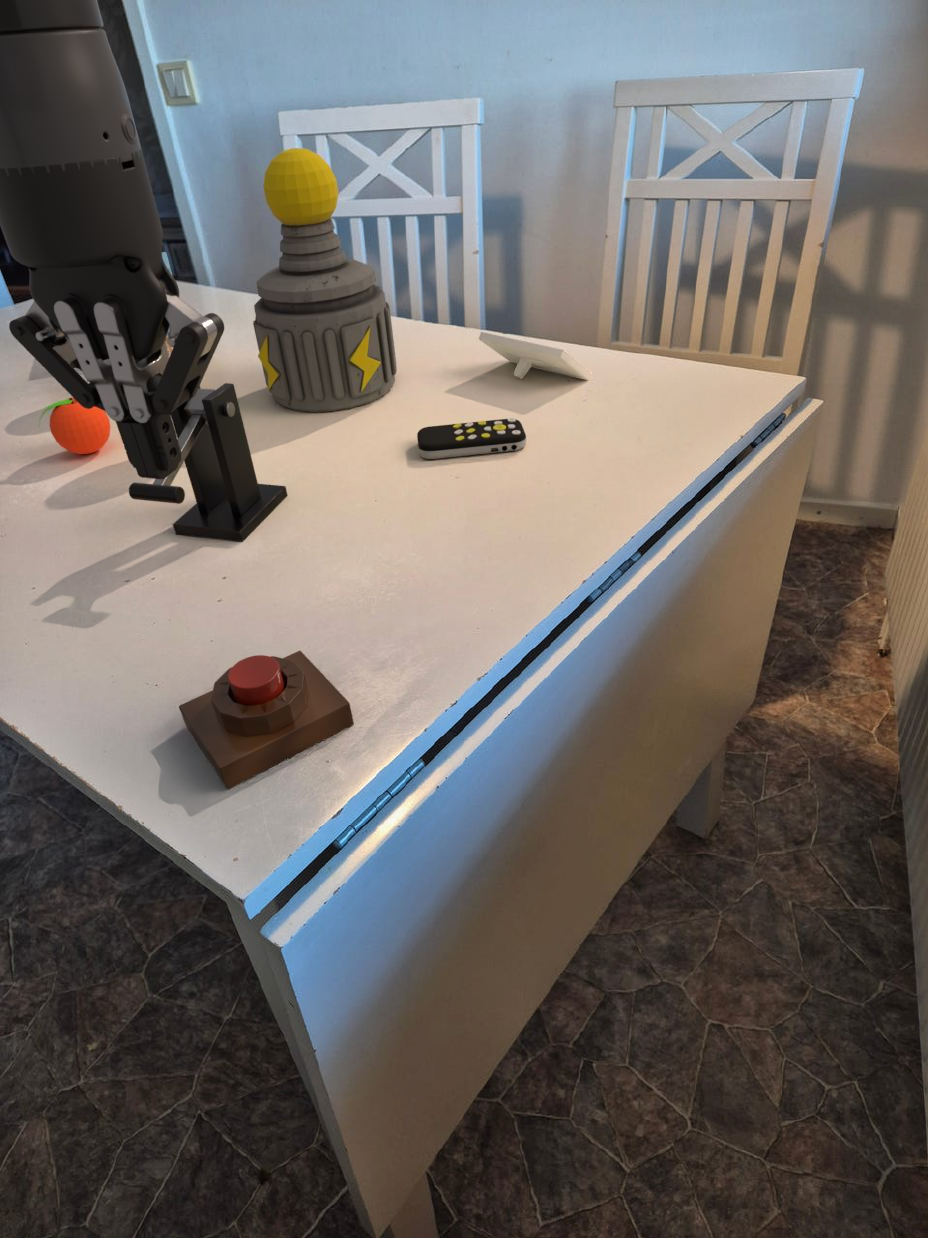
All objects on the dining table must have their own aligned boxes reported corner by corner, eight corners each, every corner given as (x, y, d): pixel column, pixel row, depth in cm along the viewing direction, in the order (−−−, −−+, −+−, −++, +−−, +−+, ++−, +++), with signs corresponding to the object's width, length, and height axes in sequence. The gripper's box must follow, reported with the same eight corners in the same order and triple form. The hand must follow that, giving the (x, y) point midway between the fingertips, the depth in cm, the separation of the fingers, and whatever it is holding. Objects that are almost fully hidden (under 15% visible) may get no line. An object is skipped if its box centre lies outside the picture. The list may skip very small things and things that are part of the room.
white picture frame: (470, 358, 113) (552, 378, 105) (482, 325, 113) (565, 343, 105) (502, 379, 120) (582, 400, 112) (514, 349, 120) (595, 367, 111)
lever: (182, 510, 75) (170, 493, 73) (136, 505, 76) (123, 488, 74) (237, 408, 81) (227, 389, 79) (194, 405, 82) (183, 387, 80)
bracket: (242, 541, 82) (208, 412, 74) (175, 534, 85) (134, 408, 76) (287, 495, 90) (260, 373, 82) (224, 489, 92) (192, 370, 84)
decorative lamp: (244, 392, 117) (187, 155, 99) (351, 357, 126) (317, 134, 108) (314, 427, 105) (264, 164, 87) (427, 385, 114) (403, 140, 96)
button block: (227, 790, 55) (212, 749, 53) (186, 727, 61) (171, 687, 58) (354, 724, 60) (346, 683, 57) (305, 670, 65) (295, 631, 63)
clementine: (53, 470, 99) (31, 415, 95) (51, 450, 105) (29, 397, 100) (120, 454, 102) (102, 400, 98) (115, 435, 107) (97, 383, 103)
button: (245, 714, 56) (240, 695, 55) (225, 687, 58) (219, 669, 57) (292, 691, 58) (287, 672, 57) (271, 666, 60) (266, 648, 59)
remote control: (417, 440, 99) (415, 424, 98) (520, 429, 100) (519, 414, 99) (420, 462, 94) (418, 446, 93) (528, 451, 95) (527, 435, 94)
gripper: (-108, 164, 38) (30, 492, 49) (125, 156, 35) (222, 513, 45) (7, 142, 44) (109, 440, 54) (218, 134, 40) (285, 455, 51)
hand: (160, 472), depth 50 cm, fingers closed
